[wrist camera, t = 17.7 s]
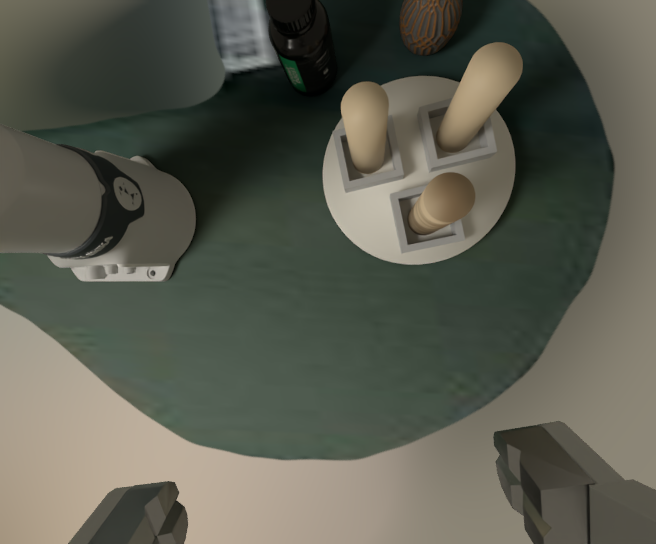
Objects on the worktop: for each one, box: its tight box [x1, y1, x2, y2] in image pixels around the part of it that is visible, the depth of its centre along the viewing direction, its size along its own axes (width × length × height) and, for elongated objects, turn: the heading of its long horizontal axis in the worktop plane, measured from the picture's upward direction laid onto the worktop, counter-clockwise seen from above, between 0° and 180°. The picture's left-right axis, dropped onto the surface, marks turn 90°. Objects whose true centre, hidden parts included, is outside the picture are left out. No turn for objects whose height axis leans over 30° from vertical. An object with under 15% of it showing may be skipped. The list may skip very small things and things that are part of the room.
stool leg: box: [407, 172, 475, 235], centre depth 31 cm, size 4×4×13 cm
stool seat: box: [323, 42, 523, 264], centre depth 32 cm, size 23×23×16 cm
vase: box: [399, 0, 462, 56], centre depth 35 cm, size 7×7×9 cm
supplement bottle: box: [266, 0, 337, 97], centre depth 36 cm, size 7×7×12 cm
